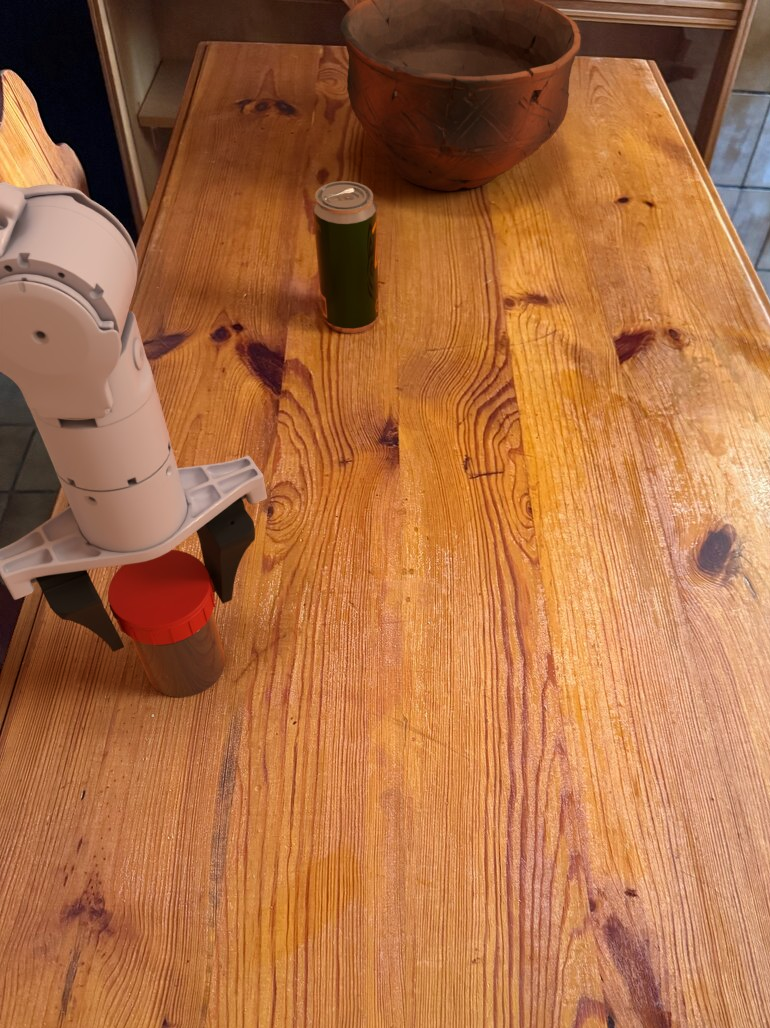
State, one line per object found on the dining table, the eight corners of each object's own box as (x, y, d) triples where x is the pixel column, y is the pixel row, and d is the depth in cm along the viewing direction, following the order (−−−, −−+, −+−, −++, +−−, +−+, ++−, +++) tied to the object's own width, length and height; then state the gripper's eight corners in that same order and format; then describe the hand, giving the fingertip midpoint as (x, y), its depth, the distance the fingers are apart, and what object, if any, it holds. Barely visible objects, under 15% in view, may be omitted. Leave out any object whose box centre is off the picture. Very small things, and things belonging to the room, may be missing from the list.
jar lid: (166, 554, 57) (160, 534, 56) (235, 597, 55) (231, 578, 54) (94, 613, 54) (85, 594, 53) (165, 662, 52) (158, 643, 51)
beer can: (335, 341, 82) (326, 217, 73) (313, 309, 85) (302, 186, 76) (388, 327, 84) (386, 204, 74) (365, 296, 87) (360, 175, 77)
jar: (142, 699, 58) (112, 631, 52) (150, 635, 61) (123, 564, 55) (223, 695, 58) (202, 627, 52) (227, 631, 62) (208, 560, 56)
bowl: (536, 243, 94) (556, 91, 82) (316, 202, 97) (304, 50, 85) (578, 139, 109) (599, -2, 97) (385, 106, 112) (384, -34, 100)
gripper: (214, 363, 49) (247, 528, 60) (-60, 454, 44) (30, 618, 55) (271, 437, 46) (295, 599, 56) (-19, 546, 40) (68, 702, 51)
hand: (168, 614), depth 55 cm, fingers open, 6 cm apart
